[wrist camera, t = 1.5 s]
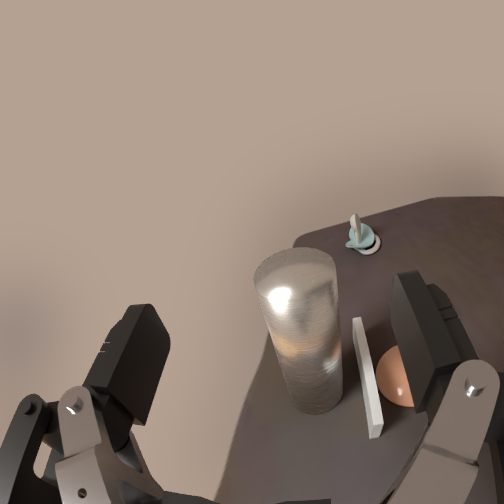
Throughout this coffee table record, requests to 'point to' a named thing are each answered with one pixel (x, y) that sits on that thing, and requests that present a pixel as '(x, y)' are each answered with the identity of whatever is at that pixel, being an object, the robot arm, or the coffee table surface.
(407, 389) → the terracotta coaster
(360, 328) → the acrylic wall
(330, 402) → the metal tin
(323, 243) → the coffee table surface
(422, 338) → the robot arm
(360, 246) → the pacifier
